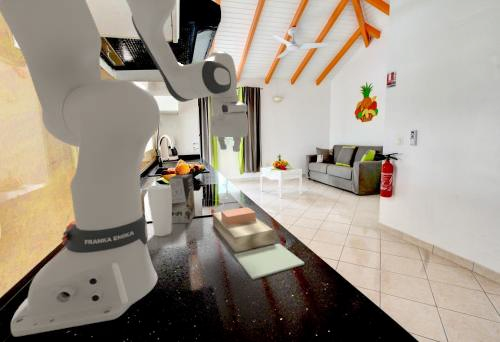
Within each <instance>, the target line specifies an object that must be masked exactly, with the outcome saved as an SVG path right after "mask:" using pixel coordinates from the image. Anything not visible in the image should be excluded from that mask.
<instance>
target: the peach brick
mask: <svg viewBox="0 0 500 342" xmlns="http://www.w3.org/2000/svg"><path fill="white" fill-rule="evenodd" d="M220 212H221V218H222V220H223V221H224V222H225V223H226V224H227V225H232V224H237V223H243V222H248V221H254V220H256V218H257V217H256V211H254V210H253V209H251V208H249V207H248V206H247V207H240V208H234V209H227V210H223V211H220Z"/></svg>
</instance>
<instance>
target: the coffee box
mask: <svg viewBox="0 0 500 342" xmlns="http://www.w3.org/2000/svg"><path fill="white" fill-rule="evenodd" d="M193 177H194V175H193V174H192V173H187V174H186V173H185V174H175V175H174V176H171V177H169V178H168V185H170V186H171V192H172V224H188V223H190V222H191V221H192V219H194V217H195V216H196V207H195V192H194V178H193ZM194 215H195V216H194Z"/></svg>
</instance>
